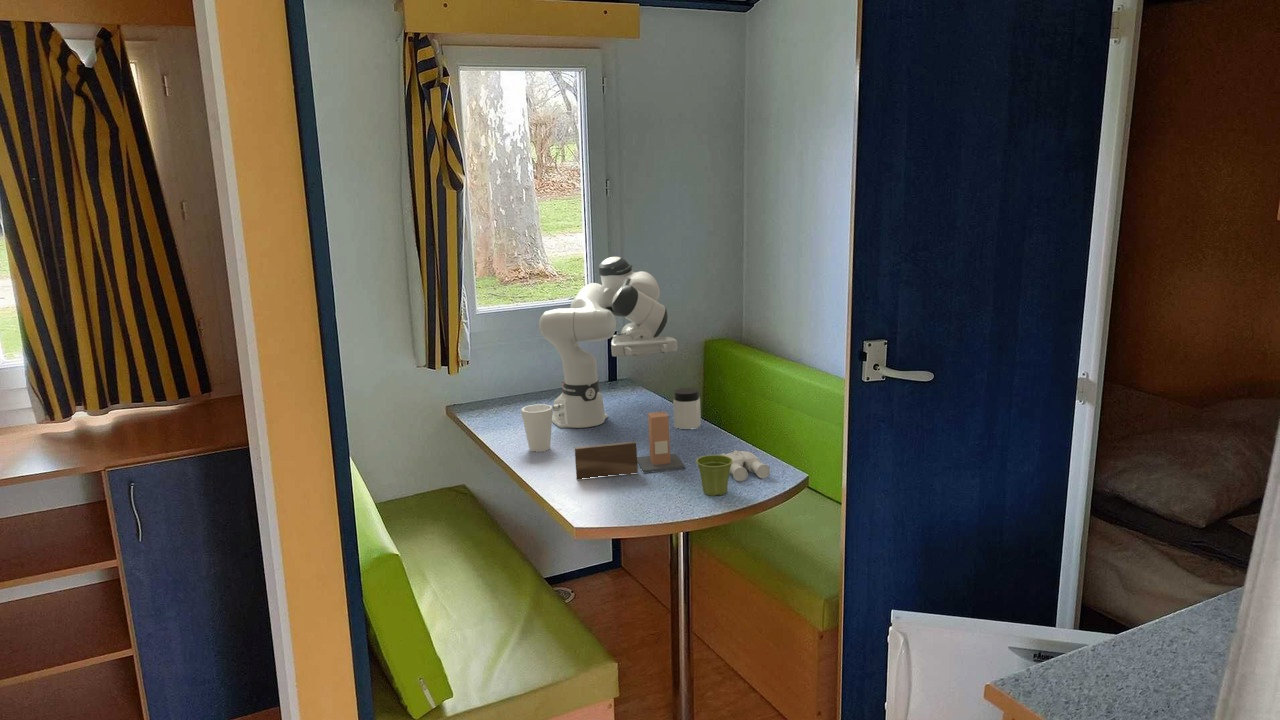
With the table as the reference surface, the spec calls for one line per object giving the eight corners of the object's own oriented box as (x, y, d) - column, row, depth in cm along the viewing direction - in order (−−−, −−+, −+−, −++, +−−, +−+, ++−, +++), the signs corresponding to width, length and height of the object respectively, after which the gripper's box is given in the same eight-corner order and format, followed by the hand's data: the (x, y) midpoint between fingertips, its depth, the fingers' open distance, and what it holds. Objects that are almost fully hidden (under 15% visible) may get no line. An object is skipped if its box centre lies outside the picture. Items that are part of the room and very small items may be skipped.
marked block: (649, 459, 259) (647, 413, 256) (666, 457, 259) (664, 411, 256) (653, 465, 253) (651, 417, 250) (670, 463, 254) (668, 416, 251)
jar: (706, 426, 292) (705, 390, 289) (688, 431, 286) (687, 395, 284) (686, 421, 298) (685, 386, 296) (669, 426, 293) (667, 391, 290)
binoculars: (734, 483, 240) (733, 467, 239) (715, 465, 255) (714, 449, 254) (770, 478, 242) (770, 462, 241) (750, 460, 257) (749, 445, 256)
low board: (576, 478, 248) (574, 447, 246) (636, 472, 251) (635, 441, 249) (577, 480, 247) (575, 449, 245) (637, 473, 249) (636, 443, 248)
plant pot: (708, 483, 240) (707, 452, 238) (739, 489, 234) (739, 457, 233) (690, 494, 232) (689, 462, 230) (722, 500, 227) (721, 468, 225)
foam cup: (521, 447, 278) (517, 406, 276) (549, 442, 282) (546, 402, 279) (529, 455, 270) (526, 414, 267) (558, 450, 273) (556, 409, 271)
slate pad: (635, 459, 262) (635, 457, 261) (675, 455, 264) (675, 453, 263) (643, 473, 250) (642, 470, 250) (684, 468, 252) (684, 466, 252)
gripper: (673, 350, 281) (683, 359, 268) (608, 355, 277) (615, 364, 264) (672, 330, 280) (682, 338, 266) (607, 335, 276) (614, 343, 263)
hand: (648, 351), depth 265 cm, fingers open, 8 cm apart
